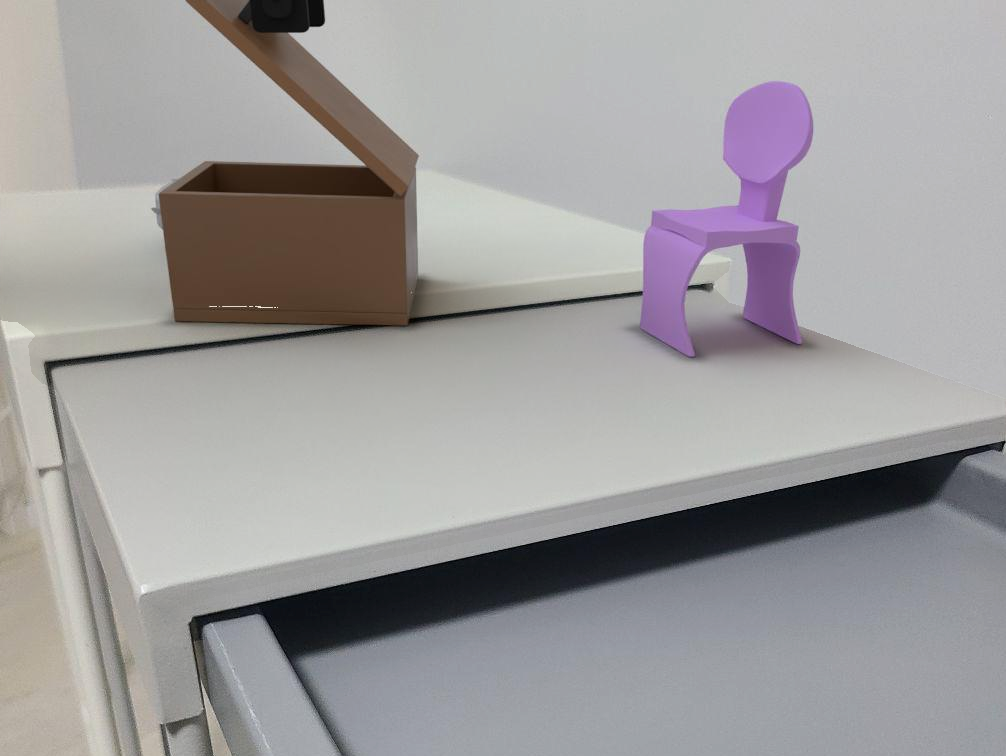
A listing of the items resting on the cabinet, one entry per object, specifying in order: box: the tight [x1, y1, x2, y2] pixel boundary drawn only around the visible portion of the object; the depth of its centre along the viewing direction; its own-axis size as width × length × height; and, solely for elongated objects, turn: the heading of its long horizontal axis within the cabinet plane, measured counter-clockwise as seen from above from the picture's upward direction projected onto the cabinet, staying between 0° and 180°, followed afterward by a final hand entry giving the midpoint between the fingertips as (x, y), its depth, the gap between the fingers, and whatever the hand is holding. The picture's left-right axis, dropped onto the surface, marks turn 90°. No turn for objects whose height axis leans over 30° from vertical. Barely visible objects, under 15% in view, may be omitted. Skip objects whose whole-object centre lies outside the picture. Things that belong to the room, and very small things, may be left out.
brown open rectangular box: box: [158, 160, 419, 327], centre depth 71 cm, size 15×12×8 cm
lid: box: [185, 0, 420, 196], centre depth 66 cm, size 15×12×6 cm
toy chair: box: [639, 80, 814, 358], centre depth 65 cm, size 8×9×15 cm
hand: (291, 26), depth 65 cm, fingers closed on lid, 6 cm apart
